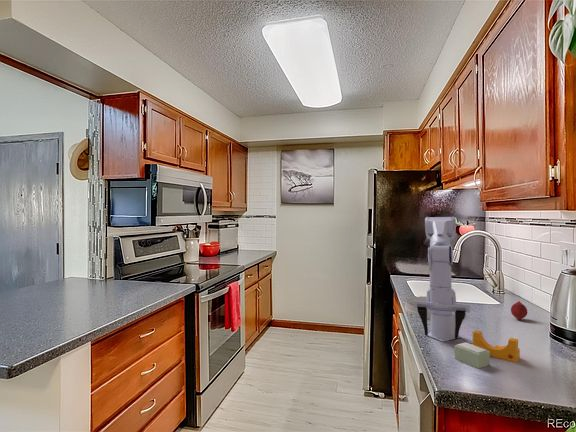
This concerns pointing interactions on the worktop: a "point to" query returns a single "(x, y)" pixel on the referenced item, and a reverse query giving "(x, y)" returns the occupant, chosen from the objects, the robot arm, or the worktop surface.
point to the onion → (519, 310)
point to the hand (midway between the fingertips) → (441, 336)
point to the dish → (411, 309)
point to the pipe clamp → (498, 347)
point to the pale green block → (472, 355)
